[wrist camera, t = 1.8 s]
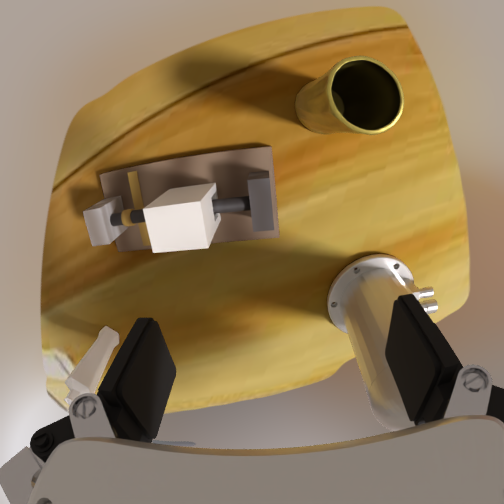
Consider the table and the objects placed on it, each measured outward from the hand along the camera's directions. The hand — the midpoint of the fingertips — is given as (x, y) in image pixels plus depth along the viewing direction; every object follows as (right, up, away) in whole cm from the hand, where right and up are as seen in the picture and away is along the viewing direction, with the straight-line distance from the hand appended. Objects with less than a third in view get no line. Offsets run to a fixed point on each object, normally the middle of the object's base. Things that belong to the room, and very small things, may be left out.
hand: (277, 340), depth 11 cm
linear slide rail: (-8, +9, +22) cm, 25 cm away
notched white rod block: (-7, +8, +19) cm, 22 cm away
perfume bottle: (-24, -10, +32) cm, 41 cm away
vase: (+7, +19, +17) cm, 26 cm away
